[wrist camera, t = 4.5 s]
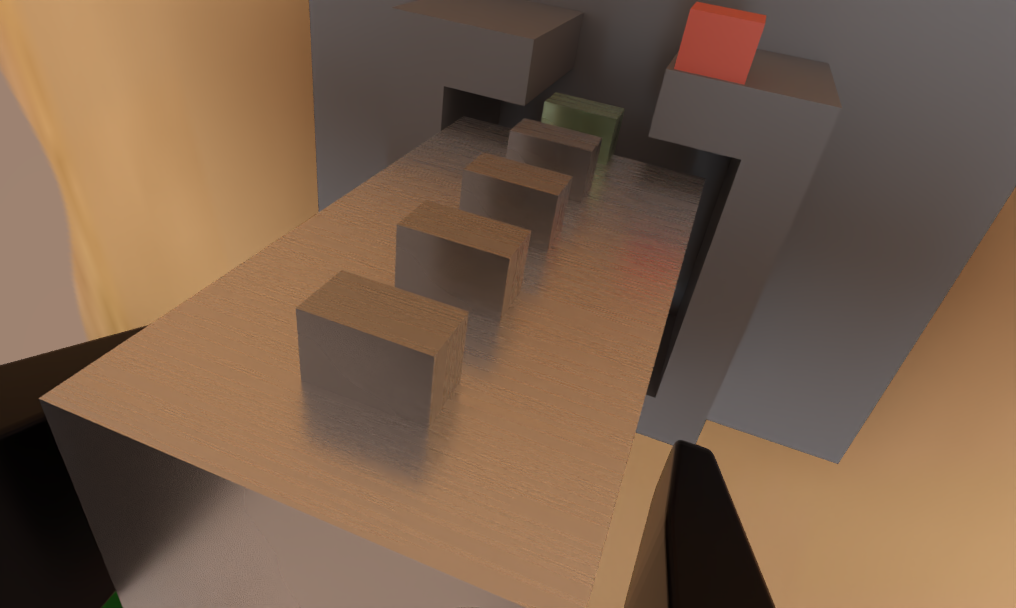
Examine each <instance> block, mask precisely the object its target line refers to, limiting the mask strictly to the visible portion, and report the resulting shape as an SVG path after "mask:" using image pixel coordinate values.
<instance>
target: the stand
mask: <svg viewBox="0 0 1016 608" xmlns="http://www.w3.org/2000/svg"><path fill="white" fill-rule="evenodd" d="M309 8H310V30H311V52H312V74H313V96H314V118H315V140H316V162H317V184H318V206H319V212H320V211H322V210H323V209H325V208H326V207H328V206H329V205H331V204H332V203H334V202H335V201H337V200H338V199H340V198H341V197H343V196H344V195H346V194H347V193H349V192H350V191H352V190H353V189H355V188H356V187H358V186H359V185H361V184H362V183H364V182H365V181H367V180H368V179H370V178H371V177H373V176H374V175H376V174H377V173H379V172H380V171H382V170H383V169H385V168H386V167H388V166H389V165H391V164H392V163H394V162H395V161H397V160H398V159H400V158H401V157H403V156H404V155H406V154H408V153H409V152H411V151H412V150H414V149H415V148H417V147H418V146H420V145H421V144H423V143H424V142H426V141H427V140H429V139H430V138H432V137H433V136H435V135H436V134H438V133H439V132H441V131H442V130H444V129H445V128H447V127H448V126H450V125H451V124H453V123H454V122H456V121H457V120H459V119H460V118H462V117H463V116H465V117H469V118H473V119H477V120H480V121H484V122H488V123H492V124H496V125H500V126H504V127H508V128H513V127H515V126H516V125H517V124H518V123H519V122H521V121H522V120H523V119H524V118H526V119H530V120H534V121H538V122H541V120H542V114H543V108H544V102H545V101H546V100H547V99H548V98H550V97H551V96H552V95H553V94H554V93H556V92H558V93H562V94H566V95H570V96H574V97H578V98H583V99H587V100H591V101H595V102H599V103H603V104H608V105H612V106H616V107H620V108H624V109H625V111H624V115H623V119H622V123H621V127H620V131H619V136H618V140H617V144H616V148H615V152H614V154H613V155H617V156H621V157H624V158H628V159H632V160H636V161H640V162H644V163H648V164H652V165H656V166H659V167H663V168H667V169H671V170H675V171H679V172H683V173H687V174H691V175H694V176H698V177H702V178H706V179H705V183H704V186H703V190H702V194H701V197H700V201H699V204H698V208H697V212H696V215H695V219H694V222H693V226H692V230H691V233H690V237H689V240H688V244H687V248H686V251H685V255H684V259H683V262H682V266H681V269H680V273H679V277H678V280H677V284H676V287H675V291H674V295H673V298H672V302H671V305H670V309H669V313H668V316H667V320H666V323H665V327H664V331H663V334H662V338H661V341H660V345H659V349H658V352H657V356H656V360H655V363H654V367H653V370H652V374H651V378H650V381H649V385H648V388H647V392H646V396H645V399H644V403H643V406H642V410H641V414H640V417H639V421H638V424H637V428H636V433H639V434H642V435H645V436H648V437H650V438H653V439H656V440H659V441H662V442H665V443H667V444H670V445H674V443H675V442H676V441H678V440H684V441H687V442H690V443H693V444H696V442H697V440H698V437H699V435H700V433H701V430H702V428H703V426H704V424H705V421H706V419H707V420H710V421H713V422H716V423H719V424H722V425H724V426H727V427H730V428H733V429H736V430H739V431H742V432H745V433H748V434H751V435H754V436H757V437H760V438H763V439H766V440H769V441H772V442H775V443H778V444H781V445H783V446H786V447H789V448H792V449H795V450H798V451H801V452H804V453H807V454H810V455H813V456H816V457H819V458H822V459H825V460H828V461H831V462H834V463H837V464H838V463H839V462H840V460H841V459H842V457H843V456H844V454H845V452H846V451H847V449H848V448H849V446H850V445H851V443H852V441H853V440H854V438H855V437H856V435H857V434H858V432H859V431H860V429H861V427H862V426H863V424H864V423H865V421H866V420H867V418H868V416H869V415H870V413H871V412H872V410H873V409H874V407H875V406H876V404H877V402H878V401H879V399H880V398H881V396H882V395H883V393H884V391H885V390H886V388H887V387H888V385H889V384H890V382H891V381H892V379H893V377H894V376H895V374H896V373H897V371H898V370H899V368H900V366H901V365H902V363H903V362H904V360H905V359H906V357H907V356H908V354H909V352H910V351H911V349H912V348H913V346H914V345H915V343H916V342H917V340H918V338H919V337H920V335H921V334H922V332H923V331H924V329H925V327H926V326H927V324H928V323H929V321H930V320H931V318H932V317H933V315H934V313H935V312H936V310H937V309H938V307H939V306H940V304H941V302H942V301H943V299H944V298H945V296H946V295H947V293H948V292H949V290H950V288H951V287H952V285H953V284H954V282H955V281H956V279H957V277H958V276H959V274H960V273H961V271H962V270H963V268H964V267H965V265H966V263H967V262H968V260H969V259H970V257H971V256H972V254H973V252H974V251H975V249H976V248H977V246H978V245H979V243H980V242H981V240H982V238H983V237H984V235H985V234H986V232H987V231H988V229H989V228H990V226H991V224H992V223H993V221H994V220H995V218H996V217H997V215H998V213H999V212H1000V210H1001V209H1002V207H1003V206H1004V204H1005V203H1006V201H1007V199H1008V198H1009V196H1010V195H1011V193H1012V192H1013V190H1014V188H1015V187H1016V0H309Z"/></svg>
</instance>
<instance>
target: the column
mask: <svg viewBox="0 0 1016 608" xmlns="http://www.w3.org/2000/svg"><path fill="white" fill-rule="evenodd" d="M624 111H625V109H624V108H620V107H616V106H612V105H608V104H603V103H599V102H595V101H591V100H587V99H583V98H578V97H574V96H570V95H566V94H562V93H558V92H556V93H554V94H553V95H552V96H551V97H550V98H548V99H547V100H546V101H545V102H544V108H543V114H542V120H541V122H538V121H534V120H530V119H526V118H524V119H523V120H522V121H521V122H519V123H518V124H517V125H516V126H515V127H513V128H508V127H504V126H500V125H496V124H492V123H488V122H484V121H480V120H477V119H473V118H469V117H465V116H463V117H462V118H460V119H459V120H457V121H456V122H454V123H453V124H451V125H450V126H448V127H447V128H445V129H444V130H442V131H441V132H439V133H438V134H436V135H435V136H433V137H432V138H430V139H429V140H427V141H426V142H424V143H423V144H421V145H420V146H418V147H417V148H415V149H414V150H412V151H411V152H409V153H408V154H406V155H404V156H403V157H401V158H400V159H398V160H397V161H395V162H394V163H392V164H391V165H389V166H388V167H386V168H385V169H383V170H382V171H380V172H379V173H377V174H376V175H374V176H373V177H371V178H370V179H368V180H367V181H365V182H364V183H362V184H361V185H359V186H358V187H356V188H355V189H353V190H352V191H350V192H349V193H347V194H346V195H344V196H343V197H341V198H340V199H338V200H337V201H335V202H334V203H332V204H331V205H329V206H328V207H326V208H325V209H323V210H322V211H320V212H319V213H317V214H316V215H314V216H313V217H311V218H310V219H308V220H307V221H305V222H304V223H302V224H301V225H299V226H298V227H296V228H295V229H293V230H292V231H290V232H289V233H287V234H286V235H284V236H282V237H281V238H279V239H278V240H276V241H275V242H273V243H272V244H270V245H269V246H267V247H266V248H264V249H263V250H261V251H260V252H258V253H257V254H255V255H254V256H252V257H251V258H249V259H248V260H246V261H245V262H243V263H242V264H240V265H239V266H237V267H236V268H234V269H233V270H231V271H230V272H228V273H227V274H225V275H224V276H222V277H221V278H219V279H218V280H216V281H215V282H213V283H212V284H210V285H209V286H207V287H206V288H204V289H203V290H201V291H200V292H198V293H197V294H195V295H194V296H192V297H191V298H189V299H188V300H186V301H185V302H183V303H182V304H180V305H179V306H177V307H176V308H174V309H173V310H171V311H170V312H168V313H167V314H165V315H164V316H162V317H160V318H159V319H157V320H156V321H154V322H153V323H151V324H150V325H148V326H147V327H145V328H144V329H142V330H141V331H139V332H138V333H136V334H135V335H133V336H132V337H130V338H129V339H127V340H126V341H124V342H123V343H121V344H120V345H118V346H117V347H115V348H114V349H112V350H111V351H109V352H108V353H106V354H105V355H103V356H102V357H100V358H99V359H97V360H96V361H94V362H93V363H91V364H90V365H88V366H87V367H85V368H84V369H82V370H81V371H79V372H78V373H76V374H75V375H73V376H72V377H70V378H69V379H67V380H66V381H64V382H63V383H61V384H60V385H58V386H57V387H55V388H54V389H52V390H51V391H49V392H48V393H46V394H45V395H43V396H42V397H40V398H38V399H39V401H40V404H41V406H42V408H43V411H44V413H45V416H46V418H47V421H48V423H49V426H50V428H51V431H52V433H53V436H54V438H55V441H56V443H57V446H58V448H59V451H60V453H61V456H62V458H63V461H64V463H65V465H66V468H67V470H68V473H69V475H70V478H71V480H72V483H73V485H74V488H75V490H76V493H77V495H78V498H79V500H80V503H81V505H82V508H83V510H84V513H85V515H86V517H87V520H88V522H89V525H90V527H91V530H92V532H93V535H94V537H95V540H96V542H97V545H98V547H99V550H100V552H101V555H102V557H103V560H104V562H105V565H106V567H107V570H108V572H109V574H110V577H111V579H112V582H113V584H114V587H115V589H116V592H117V594H118V597H119V599H120V602H121V604H122V607H123V608H587V605H588V601H589V598H590V594H591V590H592V587H593V583H594V580H595V576H596V572H597V569H598V565H599V562H600V558H601V554H602V551H603V547H604V544H605V540H606V536H607V533H608V529H609V525H610V522H611V518H612V515H613V511H614V507H615V504H616V500H617V497H618V493H619V489H620V486H621V482H622V479H623V475H624V471H625V468H626V464H627V461H628V457H629V453H630V450H631V446H632V442H633V439H634V435H635V432H636V428H637V424H638V421H639V417H640V414H641V410H642V406H643V403H644V399H645V396H646V392H647V388H648V385H649V381H650V378H651V374H652V370H653V367H654V363H655V360H656V356H657V352H658V349H659V345H660V341H661V338H662V334H663V331H664V327H665V323H666V320H667V316H668V313H669V309H670V305H671V302H672V298H673V295H674V291H675V287H676V284H677V280H678V277H679V273H680V269H681V266H682V262H683V259H684V255H685V251H686V248H687V244H688V240H689V237H690V233H691V230H692V226H693V222H694V219H695V215H696V212H697V208H698V204H699V201H700V197H701V194H702V190H703V186H704V183H705V179H706V178H702V177H698V176H694V175H691V174H687V173H683V172H679V171H675V170H671V169H667V168H663V167H659V166H656V165H652V164H648V163H644V162H640V161H636V160H632V159H628V158H624V157H621V156H617V155H613V154H614V152H615V148H616V144H617V140H618V136H619V131H620V127H621V123H622V119H623V115H624Z"/></svg>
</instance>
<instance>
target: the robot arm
mask: <svg viewBox="0 0 1016 608" xmlns="http://www.w3.org/2000/svg"><path fill="white" fill-rule="evenodd" d="M147 326H148V325H147ZM147 326H144V327H140V328H136V329H133V330H129V331H125V332H121V333H118V334H114V335H110V336H107V337H103V338H99V339H96V340H92V341H88V342H84V343H81V344H77V345H73V346H70V347H66V348H62V349H59V350H55V351H51V352H48V353H44V354H40V355H37V356H33V357H29V358H25V359H22V360H18V361H14V362H11V363H7V364H3V365H0V608H102V606H103V605H104V604H105V603H106V602H107V601H108V599H109V598H110V597H111V596H112V595H113V594H114V592H115V591H116V589H115V587H114V584H113V582H112V579H111V577H110V574H109V572H108V570H107V567H106V565H105V562H104V560H103V557H102V555H101V552H100V550H99V547H98V545H97V542H96V540H95V537H94V535H93V532H92V530H91V527H90V525H89V522H88V520H87V517H86V515H85V513H84V510H83V508H82V505H81V503H80V500H79V498H78V495H77V493H76V490H75V488H74V485H73V483H72V480H71V478H70V475H69V473H68V470H67V468H66V465H65V463H64V461H63V458H62V456H61V453H60V451H59V448H58V446H57V443H56V441H55V438H54V436H53V433H52V431H51V428H50V426H49V423H48V421H47V418H46V416H45V413H44V411H43V408H42V406H41V404H40V401H39V399H38V398H40V397H42V396H43V395H45V394H46V393H48V392H49V391H51V390H52V389H54V388H55V387H57V386H58V385H60V384H61V383H63V382H64V381H66V380H67V379H69V378H70V377H72V376H73V375H75V374H76V373H78V372H79V371H81V370H82V369H84V368H85V367H87V366H88V365H90V364H91V363H93V362H94V361H96V360H97V359H99V358H100V357H102V356H103V355H105V354H106V353H108V352H109V351H111V350H112V349H114V348H115V347H117V346H118V345H120V344H121V343H123V342H124V341H126V340H127V339H129V338H130V337H132V336H133V335H135V334H136V333H138V332H139V331H141V330H142V329H144V328H145V327H147ZM624 608H775V605H774V603H773V600H772V598H771V595H770V593H769V590H768V588H767V585H766V583H765V580H764V578H763V575H762V573H761V571H760V568H759V566H758V563H757V561H756V558H755V556H754V553H753V551H752V548H751V546H750V543H749V541H748V538H747V536H746V533H745V531H744V528H743V526H742V523H741V521H740V518H739V516H738V514H737V511H736V509H735V506H734V504H733V501H732V499H731V496H730V494H729V491H728V489H727V486H726V484H725V481H724V479H723V476H722V474H721V471H720V469H719V466H718V464H717V462H716V459H715V457H714V454H713V453H712V452H711V451H710V450H709V449H707V448H704V447H701V446H698V445H695V444H693V443H690V442H687V441H684V440H678V441H676V442H675V443H674V445H673V447H672V449H671V451H670V454H669V456H668V459H667V461H666V464H665V466H664V469H663V471H662V474H661V476H660V479H659V481H658V483H657V486H656V489H655V492H654V495H653V498H652V502H651V505H650V509H649V513H648V517H647V521H646V524H645V528H644V532H643V536H642V540H641V544H640V547H639V551H638V555H637V559H636V563H635V566H634V570H633V574H632V578H631V582H630V585H629V589H628V593H627V597H626V601H625V605H624Z"/></svg>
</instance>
